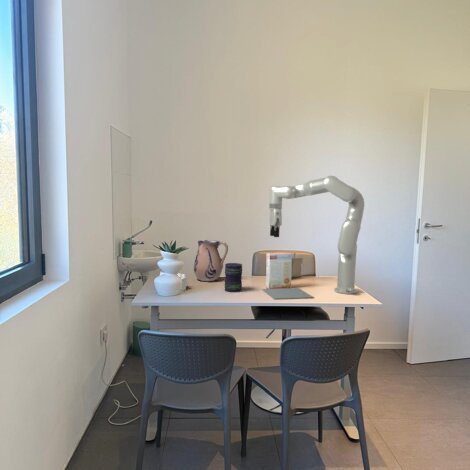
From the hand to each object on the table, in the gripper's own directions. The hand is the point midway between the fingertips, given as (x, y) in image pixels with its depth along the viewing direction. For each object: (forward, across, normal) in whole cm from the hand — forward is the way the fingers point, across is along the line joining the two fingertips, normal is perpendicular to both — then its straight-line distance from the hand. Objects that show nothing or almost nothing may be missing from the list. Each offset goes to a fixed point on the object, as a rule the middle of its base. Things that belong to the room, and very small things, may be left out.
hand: (274, 236), depth 250 cm
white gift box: (+30, -6, +59) cm, 66 cm away
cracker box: (+30, -10, 0) cm, 31 cm away
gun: (+30, +16, -18) cm, 38 cm away
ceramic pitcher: (+30, +16, +36) cm, 49 cm away
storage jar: (+30, -13, +28) cm, 43 cm away
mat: (+30, -25, 0) cm, 39 cm away
